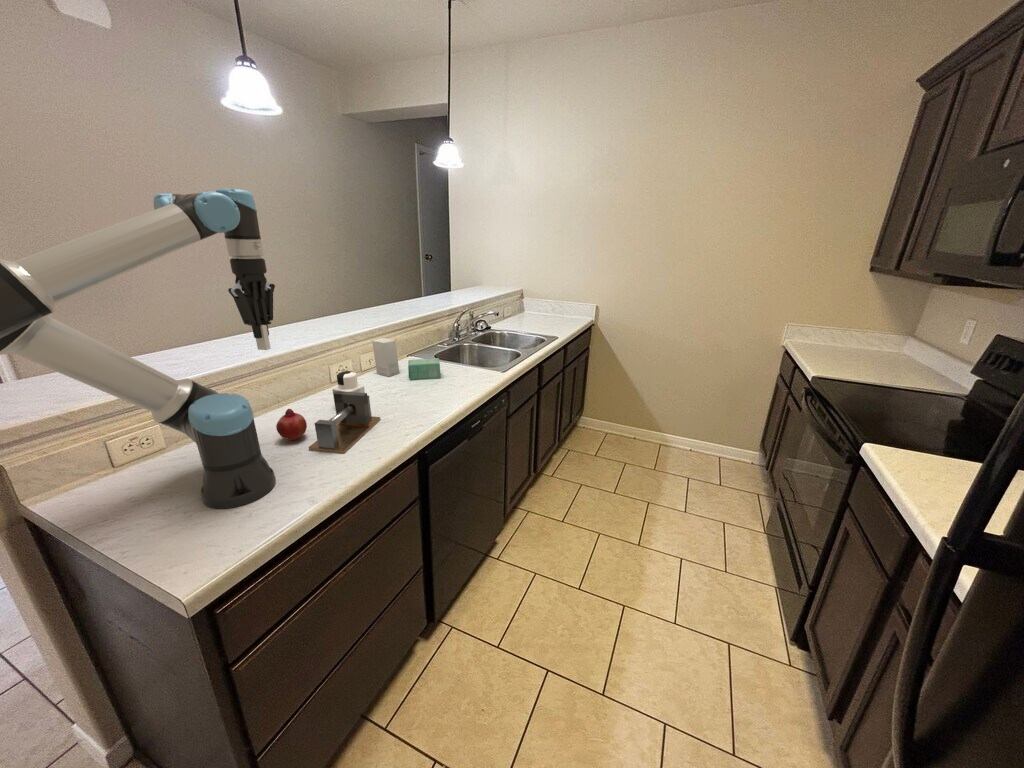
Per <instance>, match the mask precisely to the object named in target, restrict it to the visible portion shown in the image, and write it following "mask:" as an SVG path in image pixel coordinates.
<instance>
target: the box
mask: <svg viewBox="0 0 1024 768" xmlns="http://www.w3.org/2000/svg"><path fill="white" fill-rule="evenodd" d="M407 366H408V368H407V369H408V378H409V380H410V382H411V381H422V380H423V381H424V380H435V379H436V380H438V379H442V377H441V375H442V374H441V363H440V358H439V357H437V358H436V357H435V358H422V359H421V358H420V359H409V360H408V363H407Z"/></svg>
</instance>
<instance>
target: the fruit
mask: <svg viewBox="0 0 1024 768" xmlns="http://www.w3.org/2000/svg"><path fill="white" fill-rule="evenodd" d="M275 427H276V431H277V434H278V435H279V436H280V437H282V438H284V439H287V440H289V441H295V440H298V439H299V438H301V437H302V436H303V435H304V434H306V431H307V427H308V425H307V420H306V418H305V417H304V416H303V415H302V414H300V413H297V412H294V410H293V409H291V408H288V409H286V411H285V413H284V415H282V416H281V417H280V418H279V419H278V421H277V423H276V426H275Z"/></svg>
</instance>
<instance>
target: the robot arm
mask: <svg viewBox="0 0 1024 768" xmlns="http://www.w3.org/2000/svg"><path fill="white" fill-rule="evenodd" d="M153 208H154V210H150V211H148V212H145V213H142V214H139V215H137V216H134V217H131V218H129V219H125V220H122V221H120V222H118V223H115V224H112V225H109V226H107V227H104V228H101V229H99V230H96V231H93V232H91V233H87V234H85V235H82V236H79V237H77V238H73V239H71V240H69V241H66V242H63V243H61V244H57V245H55V246H52V247H49V248H46V249H44V250H41V251H39V252H36V253H33V254H31V255H30V254H29V255H27V256H25V257H23V258H19V259H17V260H13V261H12V260H7V259H1V258H0V356H3V355H16V356H18V357H22V358H24V359H25V360H28V361H31V362H33V363H36V364H38V365H40V366H43V367H45V368H46V369H49V370H52V371H54V372H57V373H58V374H62V375H64V376H66V377H68V378H69V379H73V380H75V381H77V382H80V383H83V384H85V385H87V386H88V387H89V386H90V387H91V388H94V389H96V390H99V391H101V392H104V393H106V394H108V395H111V396H113V397H116V398H117V399H120V400H123V401H125V402H126V403H127V402H128V403H129V404H132V405H134V406H136V407H139V408H142V409H143V410H146V411H148V412H150V413H151V416H152V419H153V420H154V422H157V423H159V424H162V425H164V426H166V427H169V428H170V429H173V430H176V431H178V432H181V433H183V434H185V435H186V436H187V437H188V438H189V439H190V440H192V441H193V442H194V443H195V445H196V447H197V450H198V454H199V457H200V461H201V464H202V467H203V477H202V487H201V491H200V495H201V498H202V501H203V504H204V505H205V506H207V507H209V508H213V509H231V508H237V507H240V506H244V505H246V504H249V503H252V502H254V501H257V500H258V499H261V498H262V497H264V496H265V495H267V494H268V493H269V492H271V490H273V489H274V487H275V485H276V482H277V480H276V475H275V472H274V470H273V468H272V467H270V465H269V463H268V461H267V460H266V459H265V457H264V456H263V454H262V451H261V446H260V441H259V437H258V433H257V429H256V428H257V427H256V423H255V419H254V411H253V408H252V407H251V403H250V401H249V400H248V399H247V398H246V397H245V396H242V395H240V394H237V393H230V394H229V393H226V392H225V393H219V392H218V391H216V390H214V389H212V388H209V387H205V386H204V385H202V384H200V383H198V382H196V381H194V380H192V379H189V378H182V379H175V378H173V377H171V376H169V375H167V374H165V373H163V372H161V371H159V370H157V369H155V368H153V367H151V366H149V365H147V364H145V363H143V362H141V361H139V360H137V359H135V358H133V357H132V356H129V355H127V354H125V353H123V352H121V351H119V350H117V349H115V348H113V347H111V346H109V345H107V344H105V343H103V342H102V341H99V340H97V339H95V338H93V337H91V336H89V335H87V334H85V333H83V332H81V331H79V330H77V329H76V328H73V327H71V326H69V325H67V324H65V323H63V322H61V321H59V320H58V319H56V318H53V317H51V315H50V314H52V313H55V311H56V306H57V304H58V303H60V302H62V301H65V300H67V299H69V298H72V297H73V296H76V295H78V294H80V293H83V292H85V291H88V290H89V289H92V288H95V287H96V286H99V285H101V284H103V283H105V282H107V281H110V280H113V279H114V278H117V277H119V276H122V275H124V274H127V273H128V272H131V271H133V270H136V269H137V268H139V267H142V266H144V265H146V264H148V263H151V262H154V261H156V260H158V259H160V258H162V257H165V256H167V255H171V253H173V252H176V251H178V250H181V249H183V248H185V247H188V246H190V245H192V244H195V243H197V242H200V241H202V240H204V239H207V238H209V237H212V236H214V235H217V234H223V233H224V239H225V244H226V249H227V254H228V256H229V257H231V258H230V260H229V264H230V268H231V272H232V274H234V275H235V281H234V282H235V285H234V286H233V287H229V288H228V293H229V295H231V296H232V299H233V300H234V303H235V306H236V308H237V311H238V312H239V314H240V317H241V320H242V322H243V324H244V325H245V326H246V325H247V326H250V327H251V328H252V333H253V337H254V339H255V342H256V343H255V344H256V348H257V350H259V351H260V350H262V351H268V350H271V349H272V348H271V344H270V337H269V336H270V331H269V326H268V325H271V324H272V321H273V320H274V292H275V288H276V285H275V284H274V283H270V282H269V281H268V279H267V278H266V275H265V274H266V273H267V272H268V270H267V265H266V259H264V258H263V257H264V249H263V244H262V238H261V237H262V236H261V232H260V227H259V218H258V210H257V207H256V203H255V199H254V195H253V193H252V192H250V191H249V190H246V189H239V188H238V189H237V188H217V189H216V190H215V191H213V190H212V191H209V190H206V191H203V192H198V193H187V194H180V193H172V192H170V193H163V192H162V193H156V194H155V195H154V197H153Z"/></svg>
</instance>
